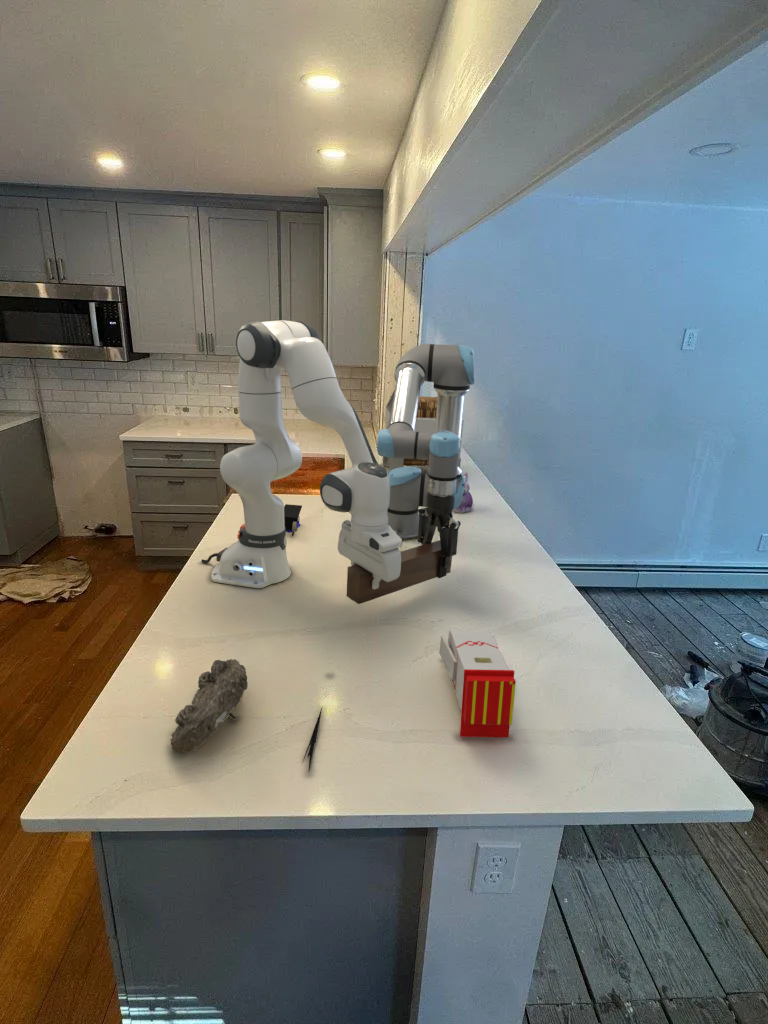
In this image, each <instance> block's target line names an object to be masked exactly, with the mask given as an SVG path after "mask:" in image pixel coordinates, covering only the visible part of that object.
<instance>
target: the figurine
mask: <svg viewBox="0 0 768 1024" xmlns="http://www.w3.org/2000/svg"><path fill="white" fill-rule="evenodd" d="M463 476H465V485H464V491H463V496H462V499H461V503H460V505H459V507H458V508H456V509H453V510H452V511H453V512H456V513H462V514H463V513H468V512H470V511H471V510H472V509H473V505H474V499H473V496H472V494H471V492H470V489H471V487H470V484H469V482H468V479H469V473H468V472H465V473H464V474H463Z"/></svg>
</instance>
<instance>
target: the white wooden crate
mask: <svg viewBox="0 0 768 1024" xmlns="http://www.w3.org/2000/svg"><path fill="white" fill-rule="evenodd" d="M394 392H395V389H393V392H392V393H391V395H390V398H389V400H388V402H387V403H386V405H385V413H384V414H385V416H384V424H385V425H384V426H385V427H384V429H388V424H389V418H390V413H391V408H392V402H393V397H394ZM436 409H437V396H419V401H418V408H417V415H416V422H415V430H414V431H415V432H430V433H435V423H436ZM463 431H464V419H463V418H462V426H461V437H460V452H459V461H458V467H459V468H460V469H461V462H462V458H461V452H462V443H463V442H462V438H463ZM381 464H382V465H383V467H384V468H385V467H386V468H388V473H389V472H390V471H391V470H393V469H396V468H400V467H426V466H427V467H429V460H419V459H405V458H390V457H383V456H382V463H381Z"/></svg>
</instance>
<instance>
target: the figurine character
mask: <svg viewBox="0 0 768 1024" xmlns="http://www.w3.org/2000/svg"><path fill="white" fill-rule="evenodd" d="M302 508H303V504H301V505H300V504H287V503H286V504H284V526H285V528H286V533H291V537H293V536H295V533H297V532H298V528H300V527H301V523H300V521H301V518H300V517H301V516H300V514H301V511H302Z"/></svg>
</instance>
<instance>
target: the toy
mask: <svg viewBox="0 0 768 1024" xmlns="http://www.w3.org/2000/svg"><path fill="white" fill-rule="evenodd" d="M438 654H439V656H440V658H441V660H442V662H443V665H444V666H445V668H446V671H447V673H448V675H449V677H450V681H451V683H452V685H453V689H454V690H455V695H456V698H457V702H458V705H459V708H460V726H459V737H460V738H509V737H510V728H511V727H510V726H512V725H513V717H514V706H515V705H514V704H515V693H516V684H517V683H516V679H515V670H514V669H510V667H509V666H508V663H507V662H506V660H505V658H504V655H503V654H502V652H501V650H500V648H499V644H498V642H497V638H496V635H495V634H492V632H491V631H490V629H467V628H466V629H465V628H463V629H461V628H460V629H459V628H450V629H449V631H448V641H447V639H446V638H445V636H444V634H443V635H442V634H441V635H440V641H439V651H438Z"/></svg>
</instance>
